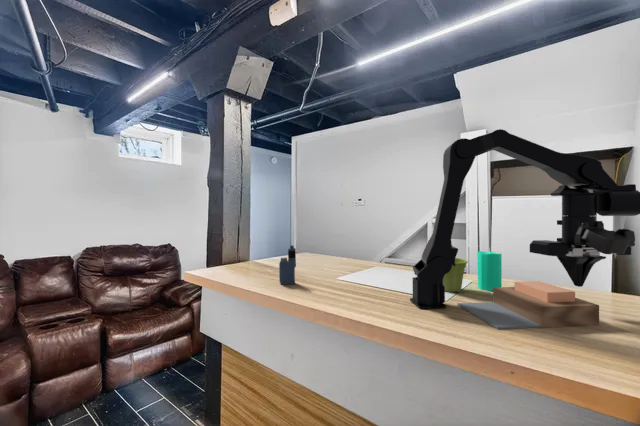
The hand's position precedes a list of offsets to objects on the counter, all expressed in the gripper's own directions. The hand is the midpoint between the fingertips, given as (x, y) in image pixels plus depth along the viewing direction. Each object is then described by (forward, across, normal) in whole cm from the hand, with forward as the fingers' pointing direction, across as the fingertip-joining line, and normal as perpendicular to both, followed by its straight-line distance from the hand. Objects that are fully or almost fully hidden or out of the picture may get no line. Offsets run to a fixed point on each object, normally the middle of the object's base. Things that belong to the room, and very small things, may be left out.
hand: (578, 286), depth 63 cm
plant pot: (+6, -19, +20) cm, 28 cm away
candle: (+6, -7, +20) cm, 22 cm away
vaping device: (+6, -66, +31) cm, 73 cm away
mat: (+6, -19, 0) cm, 20 cm away
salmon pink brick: (+2, -8, 0) cm, 9 cm away
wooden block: (+6, -9, 0) cm, 11 cm away
